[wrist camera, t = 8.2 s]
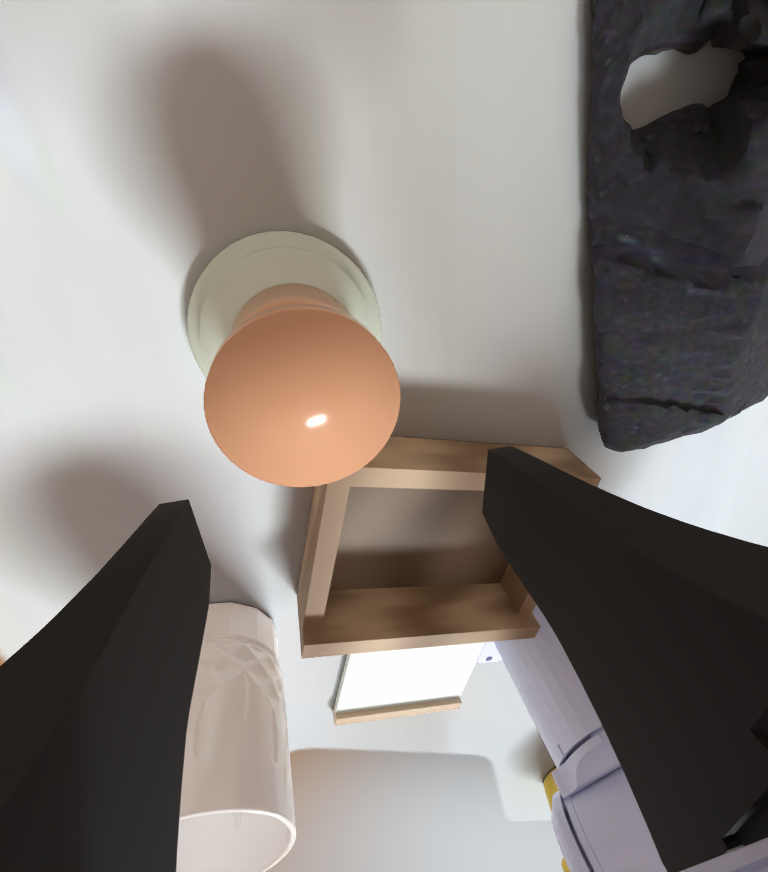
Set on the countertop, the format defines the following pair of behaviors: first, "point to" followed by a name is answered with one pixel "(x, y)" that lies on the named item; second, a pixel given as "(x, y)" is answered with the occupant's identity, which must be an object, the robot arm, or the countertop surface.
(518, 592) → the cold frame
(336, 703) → the frame lid
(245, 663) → the white cup
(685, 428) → the dark slate chunk
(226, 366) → the tan bell-shaped knob
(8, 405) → the countertop surface
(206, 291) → the saucer
